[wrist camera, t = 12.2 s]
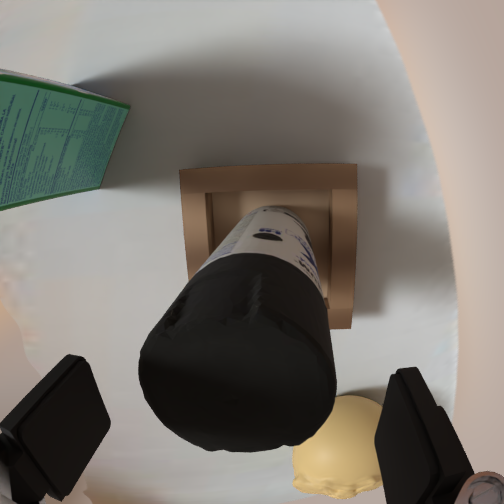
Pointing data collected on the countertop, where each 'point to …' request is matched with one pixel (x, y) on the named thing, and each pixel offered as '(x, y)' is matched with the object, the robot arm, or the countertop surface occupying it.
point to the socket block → (284, 195)
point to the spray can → (246, 343)
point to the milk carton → (53, 138)
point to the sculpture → (341, 451)
